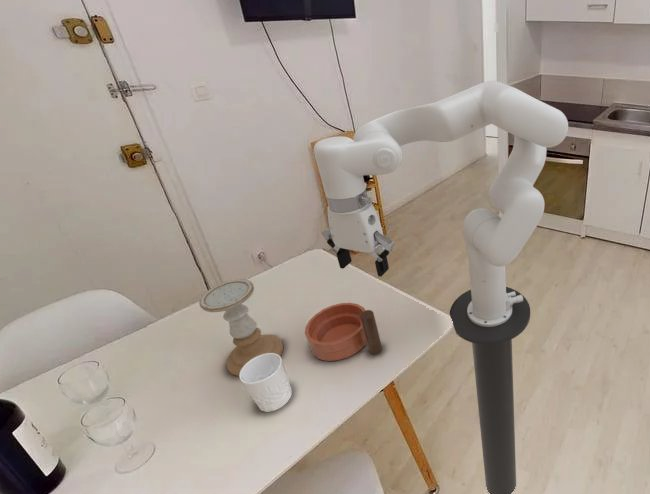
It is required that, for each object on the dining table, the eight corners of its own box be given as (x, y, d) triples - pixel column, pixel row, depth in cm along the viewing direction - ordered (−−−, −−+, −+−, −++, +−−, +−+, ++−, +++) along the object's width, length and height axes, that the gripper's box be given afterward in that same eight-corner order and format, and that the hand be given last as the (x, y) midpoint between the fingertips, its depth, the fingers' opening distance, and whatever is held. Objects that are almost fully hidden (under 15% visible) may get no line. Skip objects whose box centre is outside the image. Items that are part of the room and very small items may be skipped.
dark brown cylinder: (381, 344, 103) (372, 308, 97) (382, 353, 101) (373, 316, 95) (369, 347, 102) (359, 311, 96) (370, 356, 100) (360, 320, 94)
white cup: (257, 390, 92) (241, 360, 87) (295, 378, 95) (282, 348, 90) (253, 420, 86) (236, 389, 81) (294, 406, 88) (280, 375, 83)
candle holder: (260, 380, 94) (228, 315, 84) (215, 372, 97) (179, 308, 87) (294, 341, 105) (270, 279, 95) (253, 334, 107) (225, 273, 97)
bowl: (369, 313, 113) (365, 297, 110) (373, 352, 101) (368, 334, 98) (313, 328, 109) (307, 311, 106) (309, 369, 97) (302, 352, 94)
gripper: (395, 196, 82) (408, 265, 90) (325, 186, 87) (343, 253, 95) (373, 214, 76) (389, 286, 84) (299, 202, 80) (320, 271, 89)
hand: (364, 268), depth 89 cm, fingers open, 9 cm apart
